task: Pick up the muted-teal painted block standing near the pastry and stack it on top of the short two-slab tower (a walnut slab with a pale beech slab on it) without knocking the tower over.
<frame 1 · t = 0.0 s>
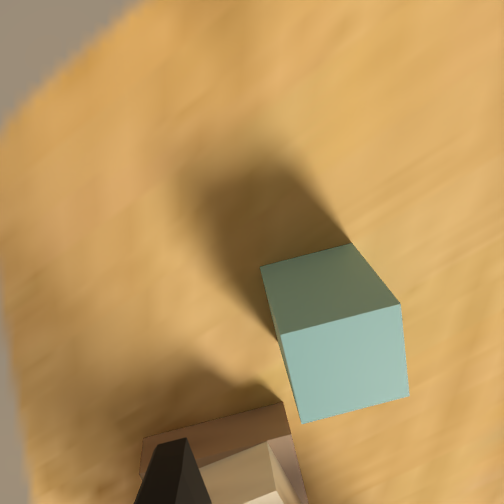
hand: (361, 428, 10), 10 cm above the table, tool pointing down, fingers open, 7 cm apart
teal block: (313, 294, 20), on the table
tower base: (229, 461, 24), on the table, touching tower top
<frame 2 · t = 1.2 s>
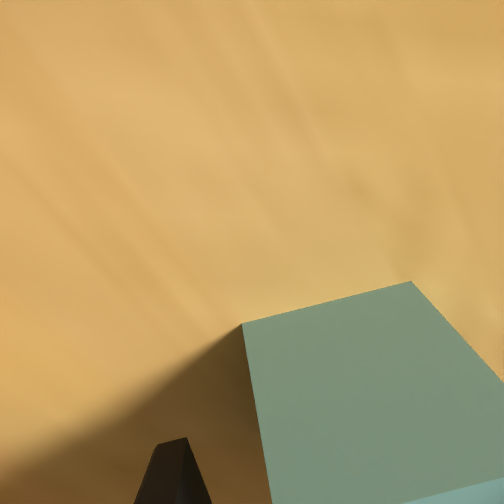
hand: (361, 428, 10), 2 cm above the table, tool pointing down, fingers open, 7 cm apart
teal block: (337, 368, 11), on the table
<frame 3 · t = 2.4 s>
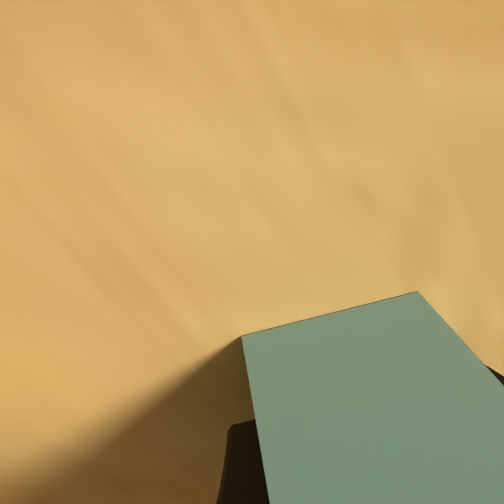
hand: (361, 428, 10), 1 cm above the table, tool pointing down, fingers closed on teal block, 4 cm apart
teal block: (341, 382, 11), on the table, touching gripper
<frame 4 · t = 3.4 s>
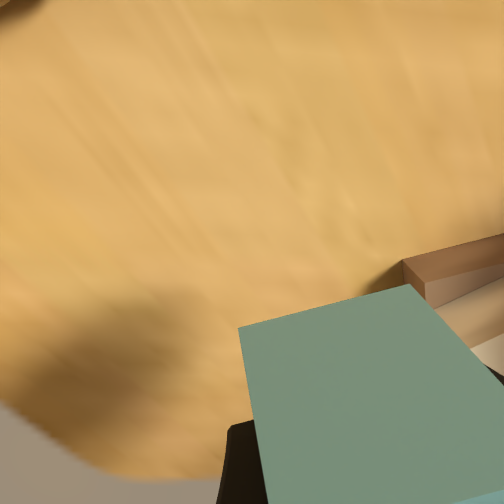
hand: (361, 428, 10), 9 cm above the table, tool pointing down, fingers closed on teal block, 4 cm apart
teal block: (336, 373, 11), point 8 cm above the table, touching gripper
tower base: (477, 303, 21), on the table
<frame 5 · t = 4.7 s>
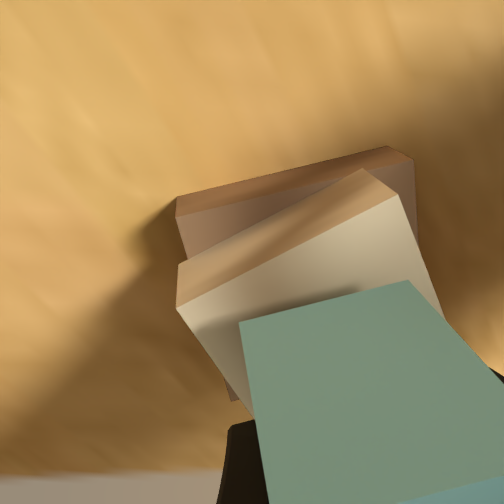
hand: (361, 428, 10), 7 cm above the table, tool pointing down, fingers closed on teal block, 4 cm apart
teal block: (335, 368, 11), point 5 cm above the table, touching gripper
tower base: (296, 258, 17), on the table, touching tower top
tower top: (309, 294, 15), point 2 cm above the table, touching tower base
when the fingers open (7 cm above the table, at t = 5.2 s): teal block drops 1 cm, resting on tower top.
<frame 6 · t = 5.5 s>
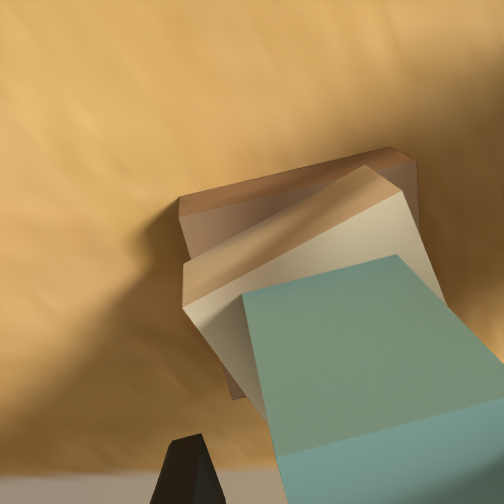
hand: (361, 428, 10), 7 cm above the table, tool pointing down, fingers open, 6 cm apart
teal block: (330, 337, 12), point 4 cm above the table, touching tower top
tower base: (298, 258, 17), on the table, touching tower top
tower top: (314, 291, 15), point 2 cm above the table, touching teal block, tower base
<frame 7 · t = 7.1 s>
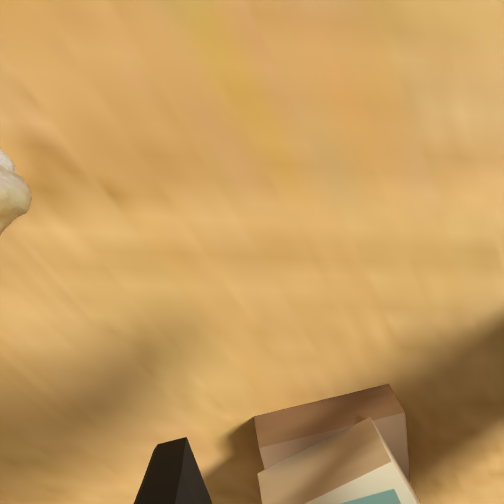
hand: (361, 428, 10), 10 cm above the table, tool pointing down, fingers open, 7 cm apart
tower base: (327, 441, 25), on the table, touching tower top
tower top: (338, 481, 23), point 2 cm above the table, touching teal block, tower base
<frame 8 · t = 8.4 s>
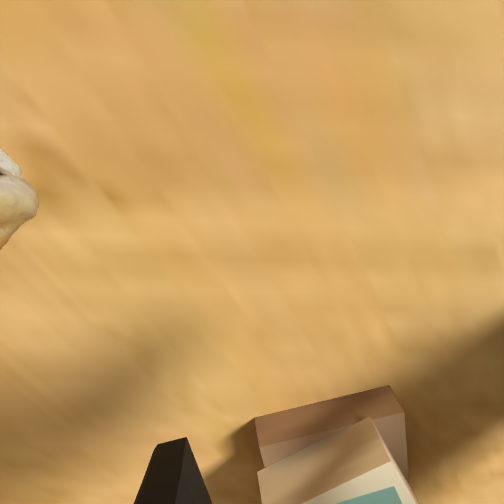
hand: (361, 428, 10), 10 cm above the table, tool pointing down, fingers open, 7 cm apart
tower base: (327, 440, 25), on the table, touching tower top
tower top: (337, 480, 23), point 2 cm above the table, touching teal block, tower base
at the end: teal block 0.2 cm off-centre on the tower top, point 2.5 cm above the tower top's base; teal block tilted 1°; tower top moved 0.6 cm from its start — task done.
